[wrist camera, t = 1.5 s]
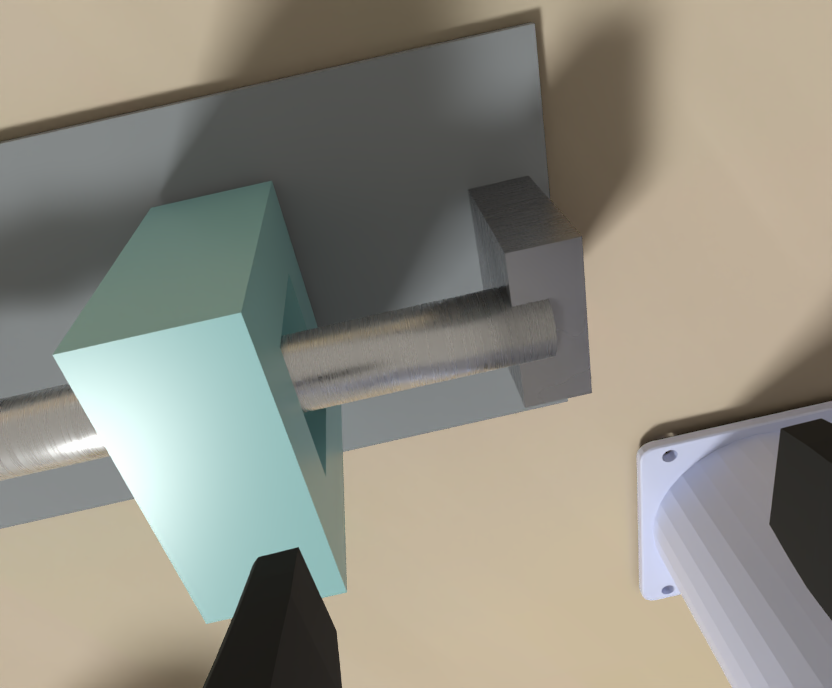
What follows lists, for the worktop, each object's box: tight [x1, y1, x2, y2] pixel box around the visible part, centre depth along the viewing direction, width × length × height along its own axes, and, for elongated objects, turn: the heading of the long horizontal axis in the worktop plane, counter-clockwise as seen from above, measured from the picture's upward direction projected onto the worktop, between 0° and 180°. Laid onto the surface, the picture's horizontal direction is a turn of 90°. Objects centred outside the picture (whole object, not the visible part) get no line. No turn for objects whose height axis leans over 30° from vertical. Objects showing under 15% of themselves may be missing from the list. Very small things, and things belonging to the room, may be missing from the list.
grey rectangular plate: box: [0, 22, 568, 529], centre depth 18 cm, size 21×11×1 cm, turn 101°
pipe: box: [0, 176, 592, 481], centre depth 16 cm, size 20×4×5 cm, turn 101°
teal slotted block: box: [53, 181, 347, 624], centre depth 15 cm, size 3×7×7 cm, turn 11°
